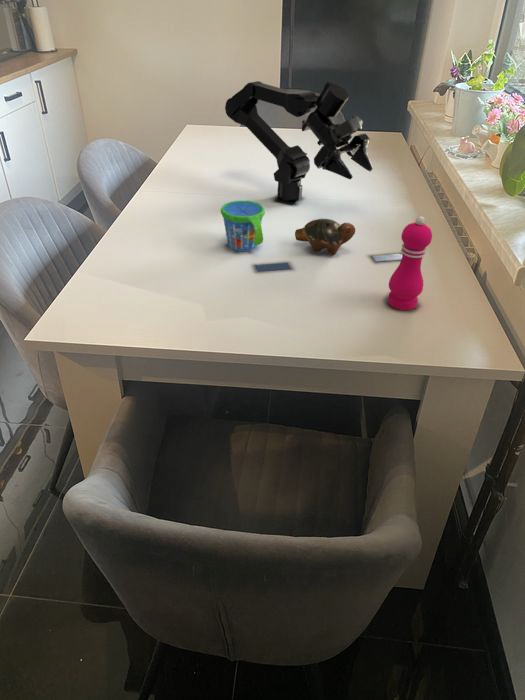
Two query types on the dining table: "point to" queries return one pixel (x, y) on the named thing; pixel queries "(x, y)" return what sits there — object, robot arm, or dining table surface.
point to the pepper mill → (410, 266)
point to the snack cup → (243, 224)
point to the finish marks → (285, 266)
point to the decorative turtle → (325, 234)
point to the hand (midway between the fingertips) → (361, 174)
